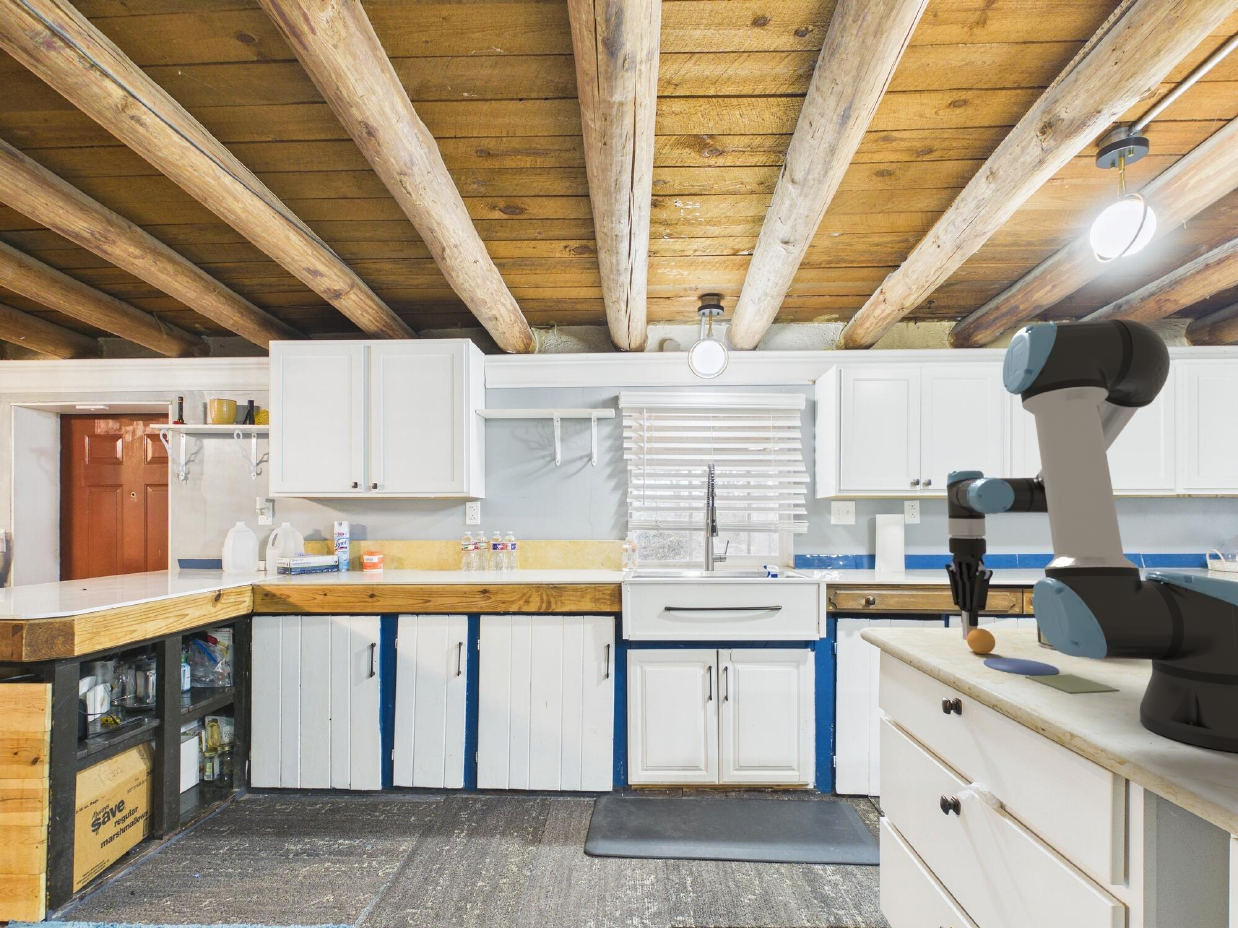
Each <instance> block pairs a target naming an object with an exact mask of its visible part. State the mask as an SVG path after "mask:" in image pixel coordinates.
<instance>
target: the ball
mask: <svg viewBox="0 0 1238 928" xmlns="http://www.w3.org/2000/svg"><path fill="white" fill-rule="evenodd" d="M966 643H967V645H968V647H969V648H970V650H972V651H973V652H975V653H977V654H980V655H986V654H989V653H991V652H993V650H994V649H995V647H996V638H995V636H994V635H993V633H991V632H990V631H989V630H986V629H985V628H977V629H974V630H972V631H971V632H970V633H969V634H968V636H967V640H966Z"/></svg>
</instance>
